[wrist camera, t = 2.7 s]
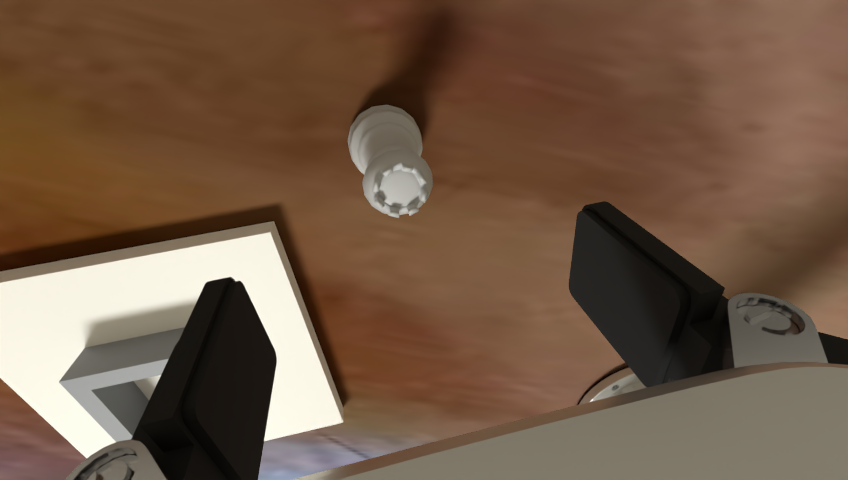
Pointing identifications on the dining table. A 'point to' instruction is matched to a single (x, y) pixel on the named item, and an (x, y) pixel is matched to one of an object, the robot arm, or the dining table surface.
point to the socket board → (151, 332)
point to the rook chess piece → (390, 160)
